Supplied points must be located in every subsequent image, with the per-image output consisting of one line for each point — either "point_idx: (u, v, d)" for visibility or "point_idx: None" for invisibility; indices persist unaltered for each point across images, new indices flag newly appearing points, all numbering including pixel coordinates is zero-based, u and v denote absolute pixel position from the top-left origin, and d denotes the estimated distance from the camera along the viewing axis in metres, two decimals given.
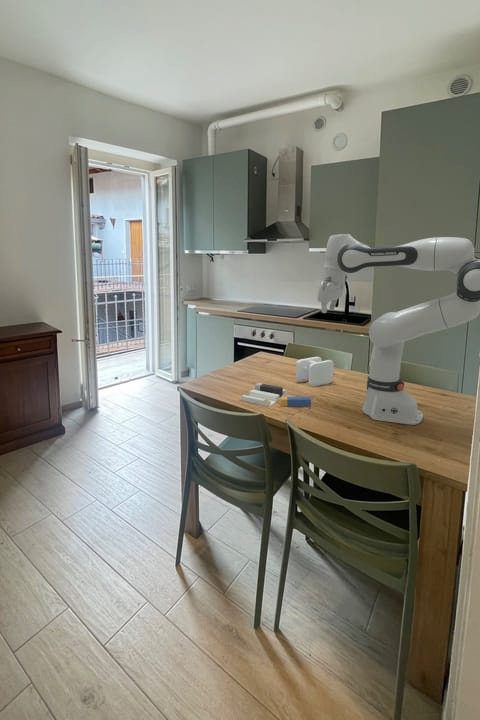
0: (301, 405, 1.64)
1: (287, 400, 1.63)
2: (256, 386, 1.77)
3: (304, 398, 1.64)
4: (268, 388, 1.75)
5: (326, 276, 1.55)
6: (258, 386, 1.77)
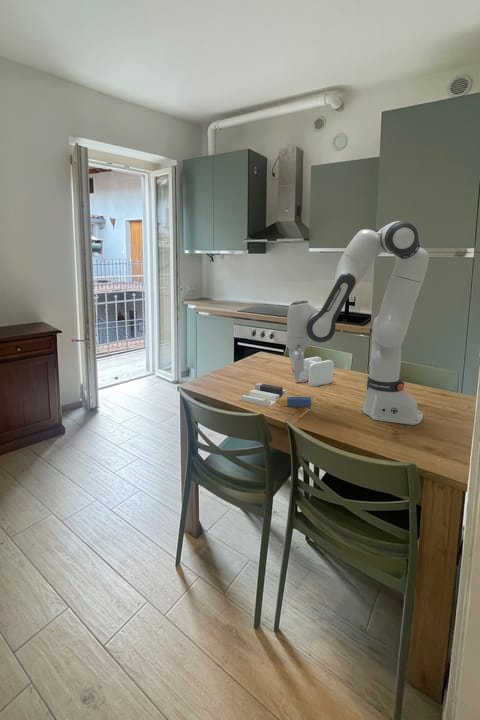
0: (301, 405, 1.64)
1: (287, 400, 1.63)
2: (256, 386, 1.77)
3: (304, 398, 1.64)
4: (268, 388, 1.75)
5: (294, 344, 1.54)
6: (258, 386, 1.77)
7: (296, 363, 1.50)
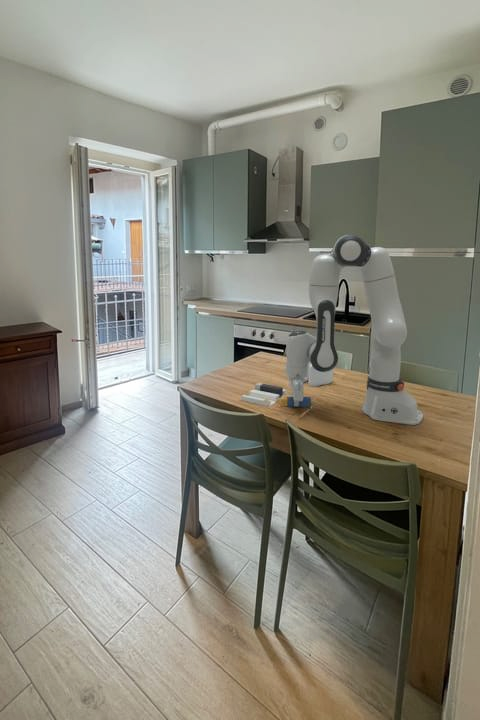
0: (301, 405, 1.64)
1: (287, 400, 1.63)
2: (256, 386, 1.77)
3: (304, 398, 1.64)
4: (268, 388, 1.75)
5: (294, 374, 1.57)
6: (258, 386, 1.77)
7: (296, 393, 1.53)
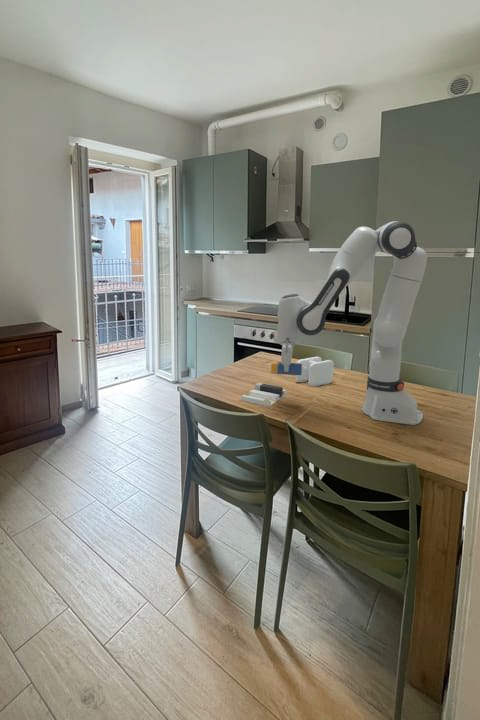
0: (292, 371, 1.61)
1: (277, 365, 1.61)
2: (256, 386, 1.77)
3: (295, 364, 1.61)
4: (268, 388, 1.75)
5: (284, 338, 1.55)
6: (258, 386, 1.77)
7: (283, 356, 1.51)
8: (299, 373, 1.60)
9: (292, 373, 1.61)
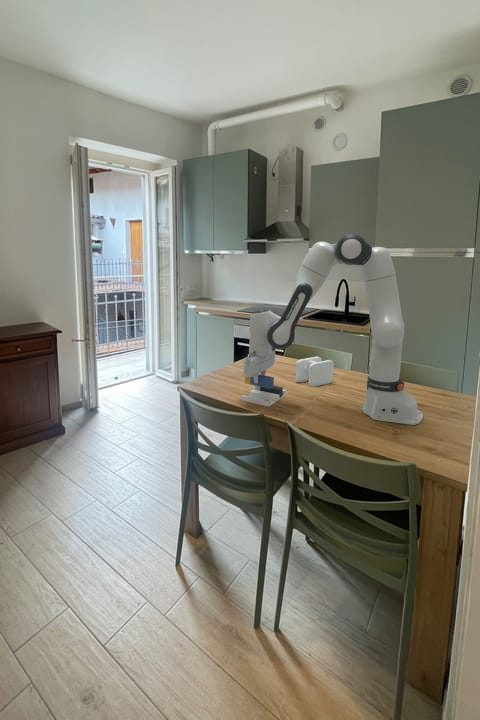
0: (262, 383, 1.66)
1: None
2: (256, 386, 1.77)
3: (266, 377, 1.66)
4: (268, 388, 1.75)
5: (251, 350, 1.62)
6: (258, 386, 1.77)
7: (245, 368, 1.58)
8: (268, 386, 1.65)
9: (262, 385, 1.66)
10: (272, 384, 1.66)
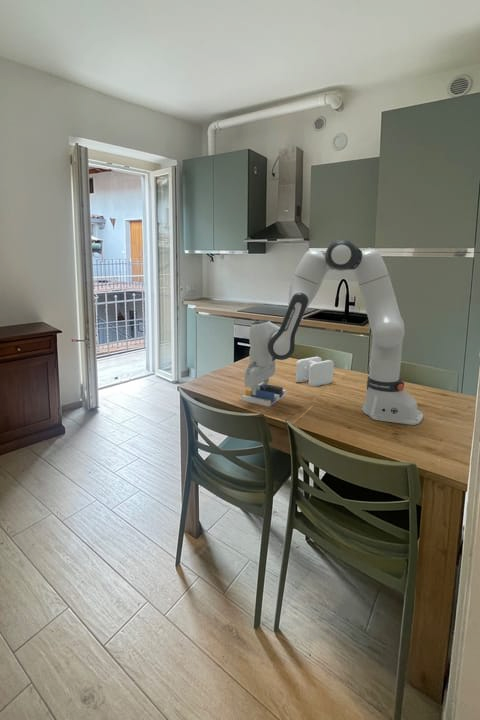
0: None
1: (250, 392, 1.70)
2: (256, 386, 1.77)
3: (267, 393, 1.67)
4: (268, 388, 1.75)
5: (252, 361, 1.63)
6: (258, 386, 1.77)
7: (245, 378, 1.59)
8: None
9: None
10: (273, 400, 1.67)
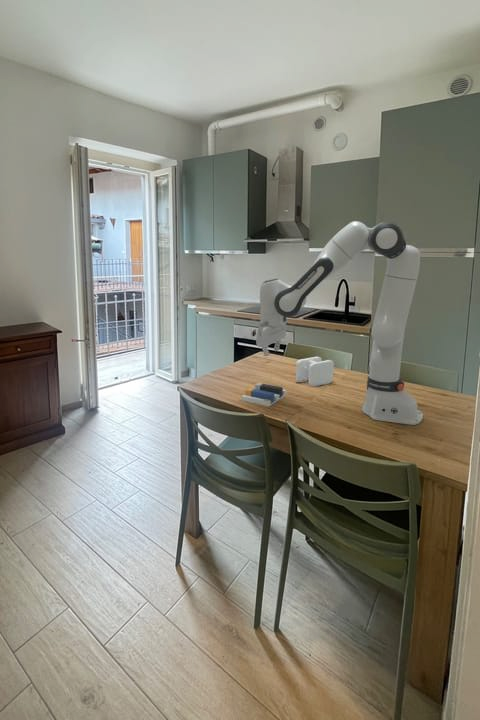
0: None
1: (250, 392, 1.70)
2: (256, 386, 1.77)
3: (267, 393, 1.67)
4: (268, 388, 1.75)
5: (263, 321, 1.60)
6: (258, 386, 1.77)
7: (257, 338, 1.57)
8: None
9: None
10: (273, 400, 1.67)
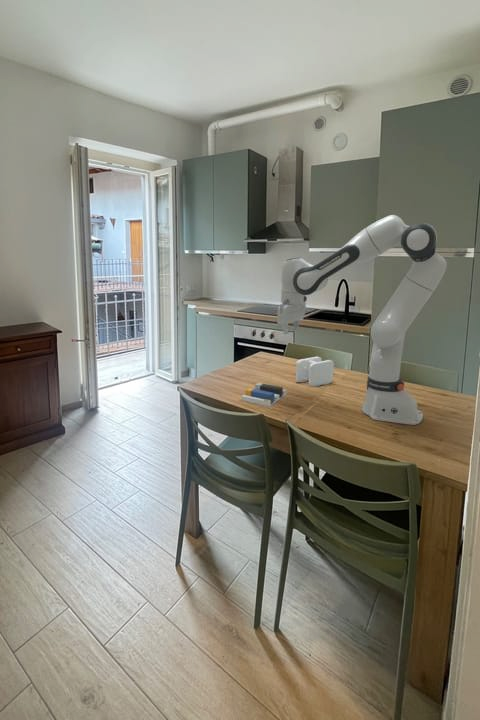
0: None
1: (250, 392, 1.70)
2: (256, 386, 1.77)
3: (267, 393, 1.67)
4: (268, 388, 1.75)
5: (284, 299, 1.62)
6: (258, 386, 1.77)
7: (278, 315, 1.59)
8: None
9: None
10: (273, 400, 1.67)
